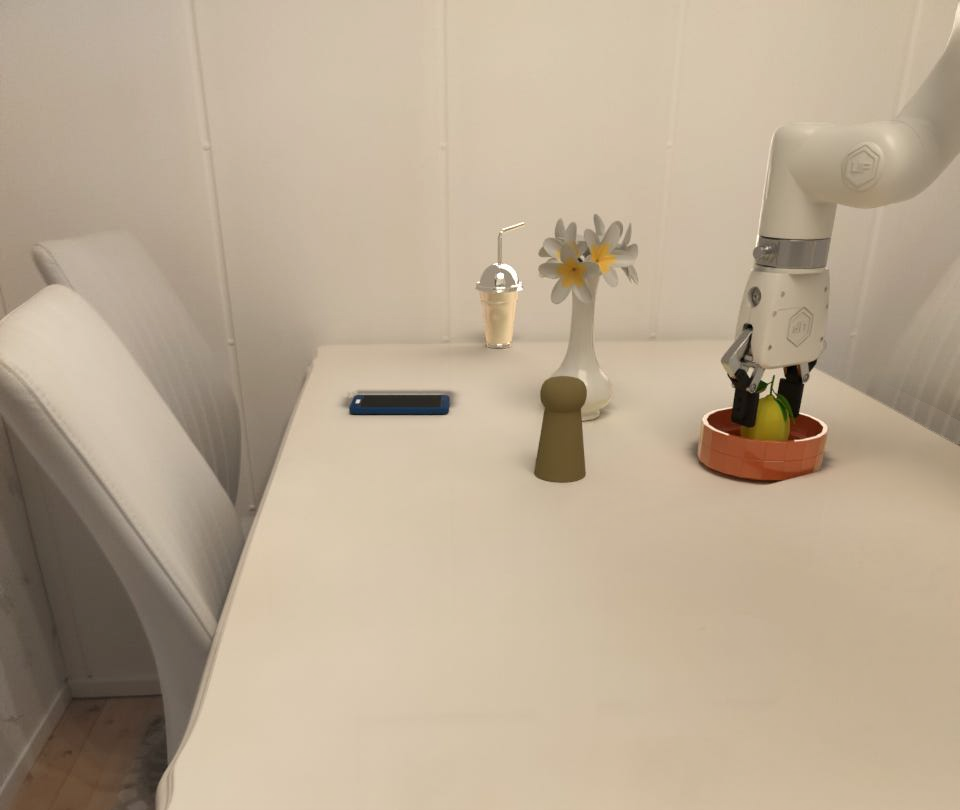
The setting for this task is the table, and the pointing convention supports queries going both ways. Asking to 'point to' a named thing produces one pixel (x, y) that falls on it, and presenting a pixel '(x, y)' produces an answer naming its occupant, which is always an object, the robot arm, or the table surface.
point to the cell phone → (400, 404)
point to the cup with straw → (499, 298)
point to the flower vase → (586, 296)
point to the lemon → (770, 417)
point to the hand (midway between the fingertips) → (764, 418)
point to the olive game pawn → (561, 430)
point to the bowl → (761, 448)
